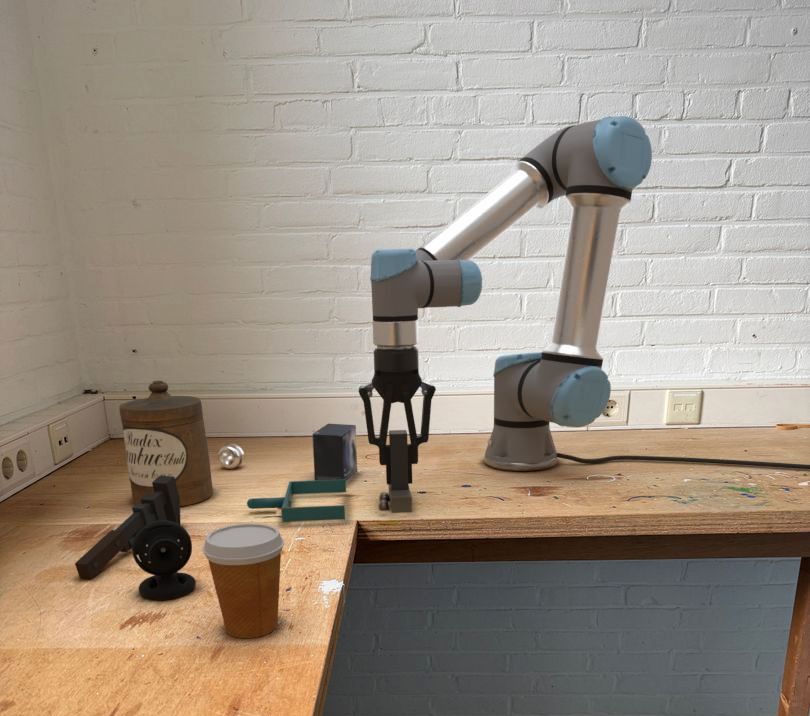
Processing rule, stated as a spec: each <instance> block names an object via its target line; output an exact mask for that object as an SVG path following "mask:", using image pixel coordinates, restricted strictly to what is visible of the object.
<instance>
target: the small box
mask: <svg viewBox="0 0 810 716" xmlns="http://www.w3.org/2000/svg"><path fill="white" fill-rule="evenodd" d="M356 426H357V425H356V424H344V423H343V424H342V423H327V424H325V425H324V426H322V427H321V428H319V429H318V430H316V431H315V432H313V433H312V454H313V476H314V477H313V478H314V479H313V480H339V479H346V482H347V481H348V480H349V479H350V478H351V477H352V476H353V475H354V474H355V473H357V472H358V458H357V457H358V456H357V455H358V451H357V427H356Z"/></svg>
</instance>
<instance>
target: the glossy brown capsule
mask: <svg viewBox="0 0 810 716" xmlns="http://www.w3.org/2000/svg"><path fill="white" fill-rule="evenodd" d="M378 510H379V511H380V512H381V511H382V512H384V511H385V512H386V511H390V502H387V501H386V500H381V501H380V500H379V501H378Z"/></svg>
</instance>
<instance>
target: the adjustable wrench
mask: <svg viewBox="0 0 810 716" xmlns="http://www.w3.org/2000/svg"><path fill="white" fill-rule="evenodd" d="M152 485H153V489H154V492H155V493H147V494H146V495H145V496H144V497H142V498H141V499H140V500H141V503H142V505H139V504H135V503H134V505H133V506H132V507H131V510H132V513H131V515H129V516H128V518H126V519H125V520H124V521H123V522H122V523H121V524H120V525H118V527H116V528H115V529H111V530H109V531H108V532H107V533H106V534H105V535H103V536H102V538H101V539H100V540H98V541H97V542H96V543H95V544H94V545H93V546H92V547H91V548H90V549H89V550H87V552H85V553H84V554H83V555H82V556H81V557H80V558H79V559H78V560H77V561H76V562H75V563H74V565H75V568H76V572H77V574H78V577H79V579H85V580H93V579H94V577H96V576H97V575H98V574H99V573H100V572H101V571H102V570H103V569H104V568H105V567H106V566H107V565H109V563H110V562H111V561H112V560H113V559H114V558H115V557H116V556H117V555H118V554H119V553H128V552H129V551H132V544H133V540H134V538H135V536H136V534H137V532H138V531H139V530H140V529H141V528H142V527H144V526H145V525H147V524H149V523H151V522H153V521H158V520H167V521H172V522H176V523H178V524H179V525H181V506H180V497H179V493H178V490H177V486H176V482H175V478H174V476H159V477H158V478H157V479H155V480H154V481H153V482H152ZM181 526H182V525H181Z"/></svg>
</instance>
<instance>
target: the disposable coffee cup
mask: <svg viewBox="0 0 810 716" xmlns="http://www.w3.org/2000/svg"><path fill="white" fill-rule="evenodd" d="M284 546H285V540H284V538H283V537H282V536H281V532H280V530H279V529H278V528H277V527H276V526H273V525H271V524H266V523H256V522H255V523H253V522H251V523H247V522H246V523H237V524H232V525H226V526H223V527H219V528H217V529H214V530H211V531H210V532H208V533H207V534H206V536H205V538H204V545H203V546H202V549H201V550H202V553H203V555H204V556H205V558H206V559H207V561H208V565H209V570H210V573H211V577H212V580H213V585H214V589H215V593H216V597H217V600H218V601H217V602H218V604H219V609H220V613H221V617H222V620H223V623H224V624H223V625H224V629H225V632H226V633H227V635H229V636H231V637H233V638H239V639H253V638H259V637H263V636H267V635H268V634H271V633H272V632H274V631H275V630H276V629H277V628H278V625H279V624H278V622H279V621H278V620H279V602H280V601H279V600H280V580H281V560H282V559H281V558H282V552H283V548H284Z"/></svg>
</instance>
